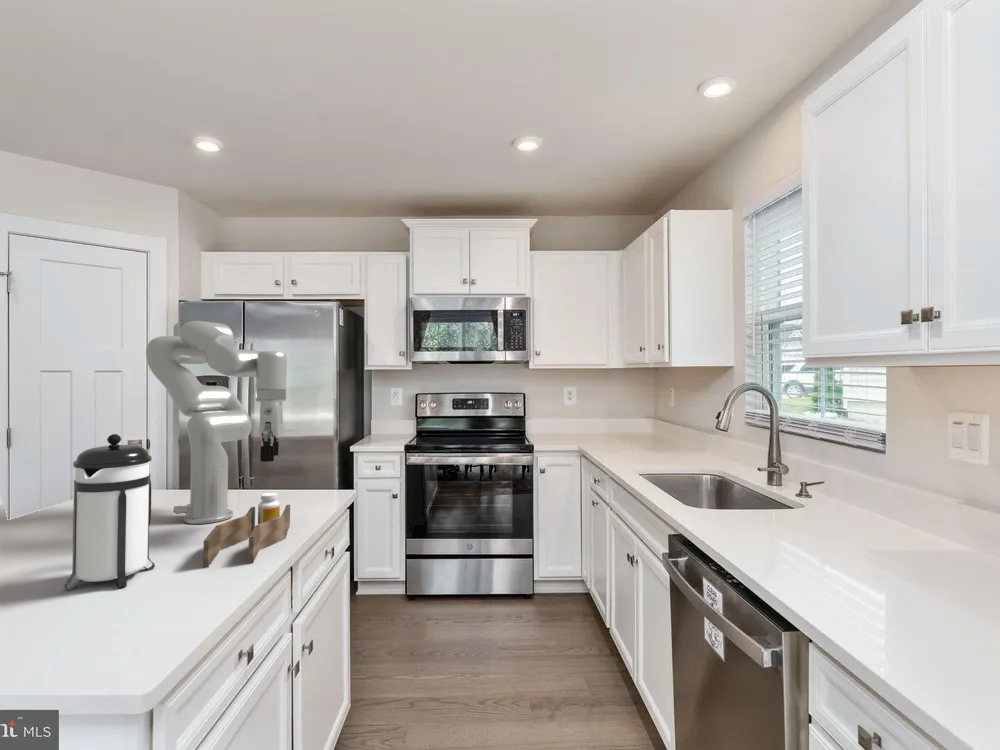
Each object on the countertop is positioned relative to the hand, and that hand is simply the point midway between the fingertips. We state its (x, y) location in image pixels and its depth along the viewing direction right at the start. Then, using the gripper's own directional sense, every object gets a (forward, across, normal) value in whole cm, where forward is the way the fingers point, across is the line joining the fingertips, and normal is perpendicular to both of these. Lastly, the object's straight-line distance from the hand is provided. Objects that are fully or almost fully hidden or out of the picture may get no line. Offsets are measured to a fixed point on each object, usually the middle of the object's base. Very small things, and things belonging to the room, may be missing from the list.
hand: (269, 458), depth 136 cm
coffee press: (+20, -25, +26) cm, 42 cm away
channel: (+20, -11, +2) cm, 23 cm away
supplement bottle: (+20, 0, 0) cm, 20 cm away
